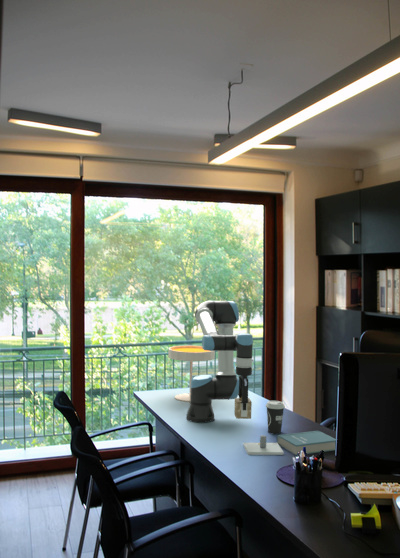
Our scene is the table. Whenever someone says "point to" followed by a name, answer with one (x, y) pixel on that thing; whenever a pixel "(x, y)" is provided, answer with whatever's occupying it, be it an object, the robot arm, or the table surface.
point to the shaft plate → (263, 448)
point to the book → (306, 442)
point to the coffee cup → (275, 416)
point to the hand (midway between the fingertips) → (242, 414)
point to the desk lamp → (189, 355)
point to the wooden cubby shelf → (238, 409)
